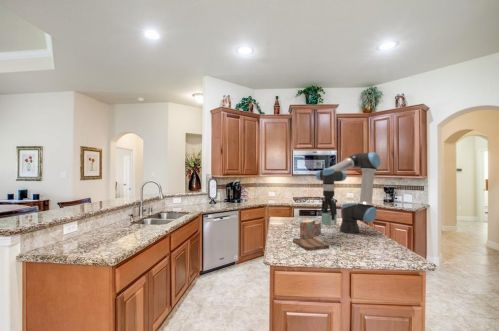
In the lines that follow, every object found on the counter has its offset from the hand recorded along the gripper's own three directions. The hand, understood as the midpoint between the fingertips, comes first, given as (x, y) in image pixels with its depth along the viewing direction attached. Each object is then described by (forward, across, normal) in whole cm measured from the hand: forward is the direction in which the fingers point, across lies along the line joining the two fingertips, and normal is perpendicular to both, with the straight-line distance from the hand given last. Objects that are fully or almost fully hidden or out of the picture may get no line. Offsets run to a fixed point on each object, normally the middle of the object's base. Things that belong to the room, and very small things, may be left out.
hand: (329, 223), depth 177 cm
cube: (0, 0, 0) cm, 0 cm away
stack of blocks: (+14, -21, -2) cm, 25 cm away
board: (+13, 0, -15) cm, 20 cm away
